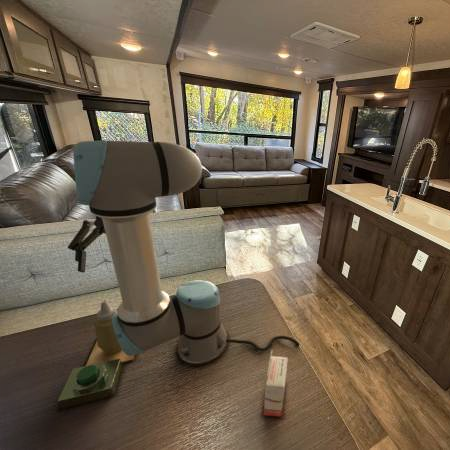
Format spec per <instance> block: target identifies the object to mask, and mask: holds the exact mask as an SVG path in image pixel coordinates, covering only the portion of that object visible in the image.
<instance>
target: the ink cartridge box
mask: <svg viewBox="0 0 450 450" xmlns="http://www.w3.org/2000/svg"><path fill="white" fill-rule="evenodd" d="M288 358H289V357H285V356H275V355H273V350H271V351H270V357H269V361H268V362H269V363H268V368H267V374H266V379H265V386H264V404H263V407H264V408H263V416H270V417H280V418H281V417H282V415H283V414H282V413H283V405H284V397H285V389H286V381H287V371H288V360H289V359H288Z"/></svg>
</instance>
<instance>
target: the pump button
mask: <svg viewBox="0 0 450 450" xmlns="http://www.w3.org/2000/svg"><path fill="white" fill-rule="evenodd" d="M97 376H98V370H97V367H96V366H94V365H90V366H87V367H85V368H83V369H82V370H80V371H79V373H78V374H77V379H78V382H79V384H81V385H86V384H89V383H90V382H92V381H94V380H95V379H96V378H97Z"/></svg>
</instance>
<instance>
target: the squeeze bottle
mask: <svg viewBox="0 0 450 450" xmlns="http://www.w3.org/2000/svg"><path fill="white" fill-rule="evenodd" d="M117 310H118V309H117V307H116V306H113V305H112V306H111V305H110V304H109V303H108V301H107V300H105V299H104V300H102V301H101V302H100V309H99V310H98V311H97V313H96V317H97V318H96V319H95V320H94V328H95V329H94V330H95V333H96V334H95V336H96V341H97V344H98V347H99V348H100V349H102V350H103V351H104V352H105V353H107V354H115V353H118V352H120V351H121V350H122V349H121V347H120V345H119V342H118V340H117V337H116V334H115V332H114V328H113V324H112V317H113V315H115V314H117Z"/></svg>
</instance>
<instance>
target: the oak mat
mask: <svg viewBox="0 0 450 450" xmlns="http://www.w3.org/2000/svg"><path fill="white" fill-rule="evenodd" d="M116 359H121V362H122V364H123V363H128V362H132V361H134V359H135V355H133V356H129V355H126V354H125V353H124V352H123V350H121V351H120V352H118V353H115V354H107V353H105V352H104V351H103V350H102V349H100V348H99V347H98V344H97V340H96V342H95V344H94V346H93V349H92V351H91V353H90V355H89V358H88V359H87V362H86V364H85V366H88V365H93V364H97V363H102V362H107V361H111V360H116Z"/></svg>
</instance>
